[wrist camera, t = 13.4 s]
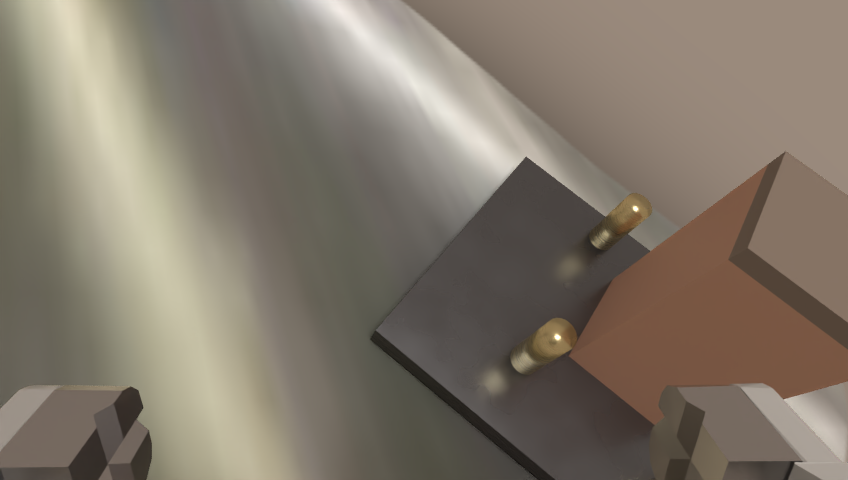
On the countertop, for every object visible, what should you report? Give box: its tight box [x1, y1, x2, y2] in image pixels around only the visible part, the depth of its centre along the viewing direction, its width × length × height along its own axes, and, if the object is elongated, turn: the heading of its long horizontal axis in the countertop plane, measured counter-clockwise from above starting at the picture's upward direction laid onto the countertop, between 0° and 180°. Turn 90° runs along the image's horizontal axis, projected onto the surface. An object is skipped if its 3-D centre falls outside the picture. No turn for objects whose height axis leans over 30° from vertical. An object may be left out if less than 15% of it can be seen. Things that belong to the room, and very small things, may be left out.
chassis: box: [371, 157, 656, 480], centre depth 26 cm, size 17×14×5 cm
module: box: [569, 152, 848, 425], centre depth 22 cm, size 6×6×11 cm
